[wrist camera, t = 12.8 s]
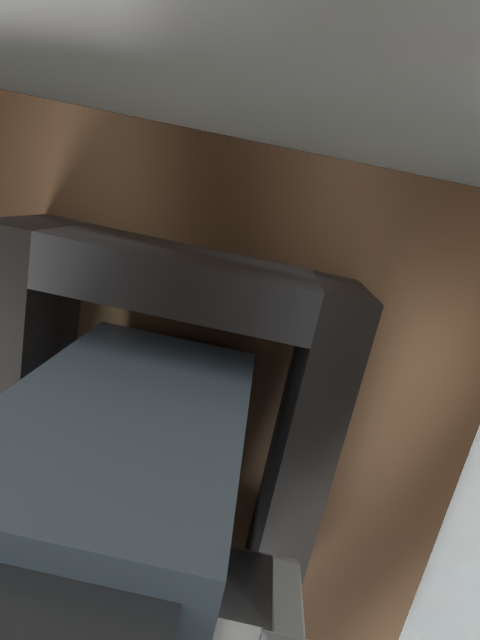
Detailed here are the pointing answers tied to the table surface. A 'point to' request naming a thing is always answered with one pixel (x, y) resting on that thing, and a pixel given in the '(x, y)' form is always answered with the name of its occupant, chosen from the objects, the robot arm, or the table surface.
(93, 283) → the dock
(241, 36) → the table surface
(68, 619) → the plug
